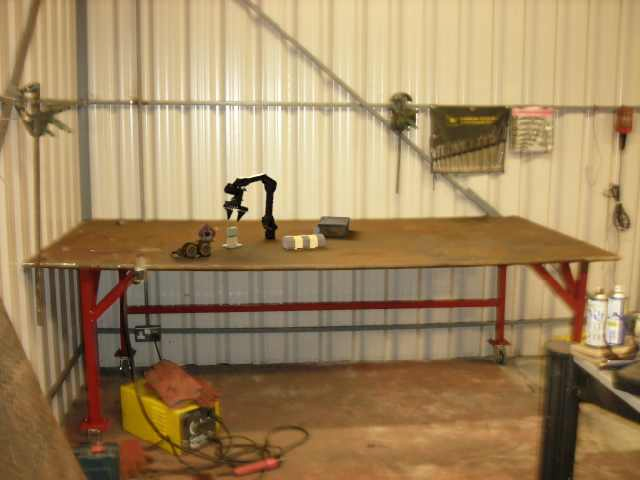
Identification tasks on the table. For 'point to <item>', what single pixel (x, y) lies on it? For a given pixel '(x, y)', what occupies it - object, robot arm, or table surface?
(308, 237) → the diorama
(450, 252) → the table surface
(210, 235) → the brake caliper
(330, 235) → the metal box
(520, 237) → the table surface
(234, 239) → the cream stepped block
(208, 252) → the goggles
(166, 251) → the table surface
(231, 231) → the pale green block
